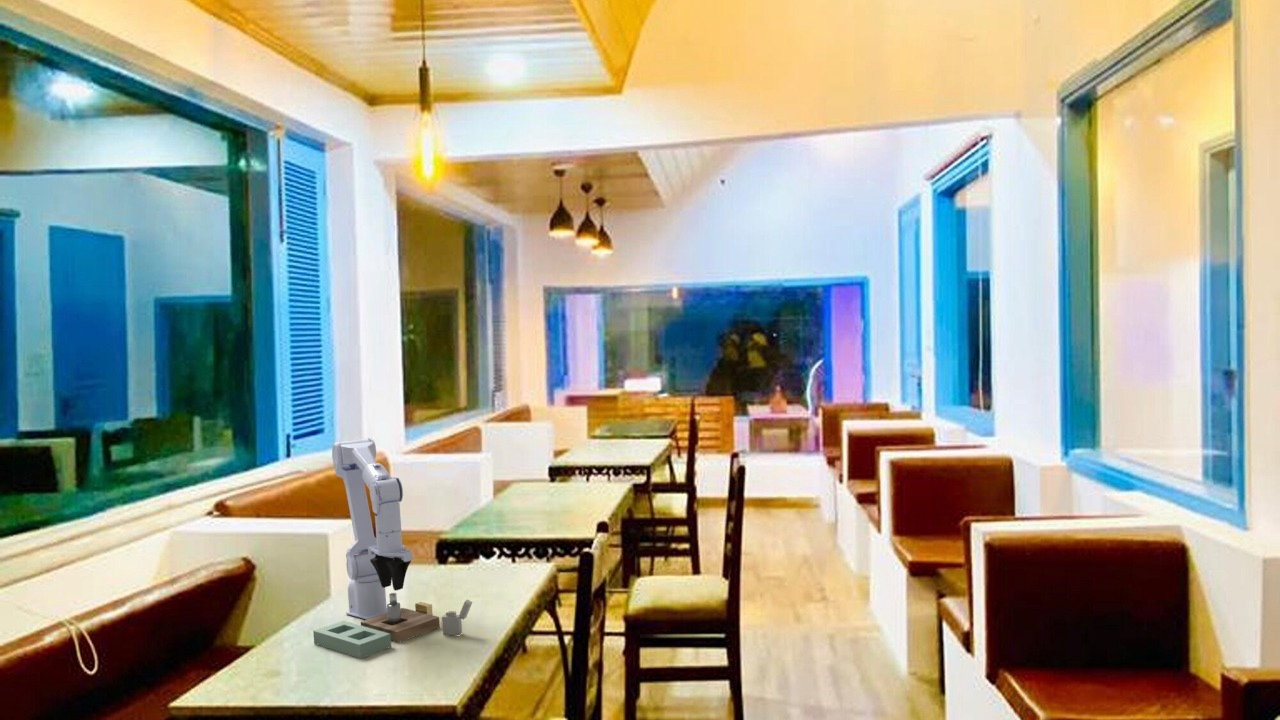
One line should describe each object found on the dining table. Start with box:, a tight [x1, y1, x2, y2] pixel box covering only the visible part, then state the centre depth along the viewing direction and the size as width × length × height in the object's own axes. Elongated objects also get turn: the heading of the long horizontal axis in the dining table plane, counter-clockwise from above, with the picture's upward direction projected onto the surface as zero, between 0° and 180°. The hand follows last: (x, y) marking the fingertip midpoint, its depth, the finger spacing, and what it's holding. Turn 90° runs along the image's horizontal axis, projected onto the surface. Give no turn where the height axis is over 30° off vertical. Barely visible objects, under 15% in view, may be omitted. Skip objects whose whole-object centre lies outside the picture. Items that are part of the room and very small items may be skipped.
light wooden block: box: [414, 601, 434, 615], centre depth 221 cm, size 4×6×4 cm
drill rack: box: [312, 620, 392, 659], centre depth 208 cm, size 18×8×3 cm, turn 51°
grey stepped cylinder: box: [386, 592, 401, 626], centre depth 216 cm, size 3×3×9 cm
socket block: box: [360, 607, 441, 643], centre depth 217 cm, size 14×12×2 cm
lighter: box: [441, 599, 473, 636], centre depth 212 cm, size 7×2×8 cm, turn 78°
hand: (392, 587), depth 216 cm, fingers open, 4 cm apart
